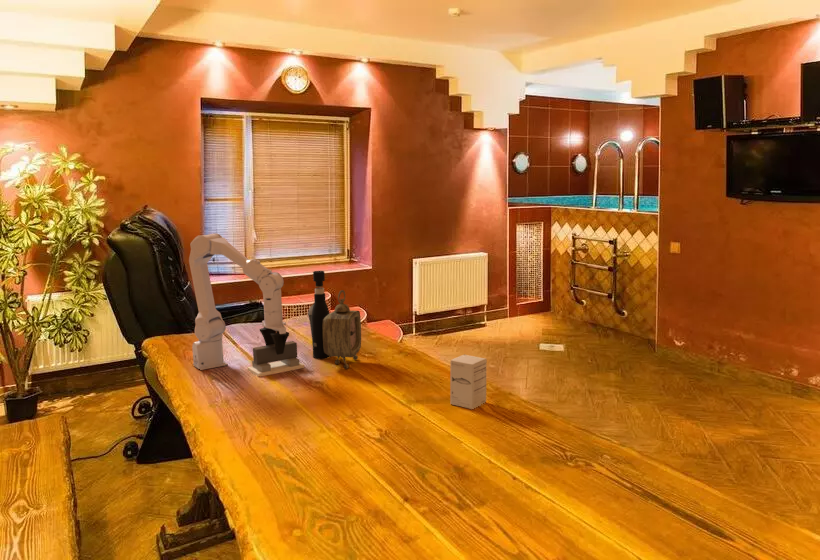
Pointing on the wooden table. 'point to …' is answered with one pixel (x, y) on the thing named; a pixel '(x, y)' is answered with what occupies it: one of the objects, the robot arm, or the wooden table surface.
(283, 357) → the handle bar
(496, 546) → the wooden table surface
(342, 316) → the tabletop clock
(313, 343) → the wine bottle
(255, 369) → the stand
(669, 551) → the wooden table surface
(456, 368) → the supplement box
